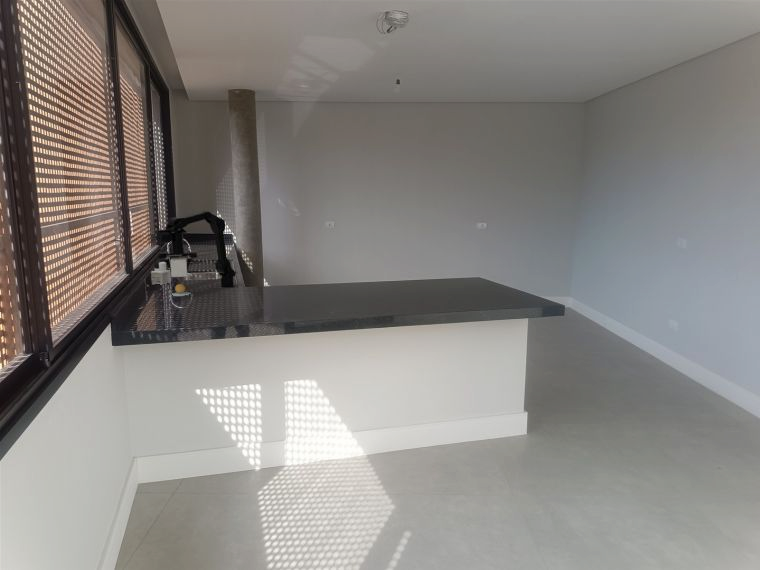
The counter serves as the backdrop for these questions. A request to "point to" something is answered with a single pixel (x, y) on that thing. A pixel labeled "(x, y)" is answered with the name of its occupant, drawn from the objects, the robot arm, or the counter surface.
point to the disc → (181, 294)
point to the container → (160, 274)
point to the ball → (180, 288)
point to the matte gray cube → (178, 267)
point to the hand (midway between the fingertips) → (179, 271)
